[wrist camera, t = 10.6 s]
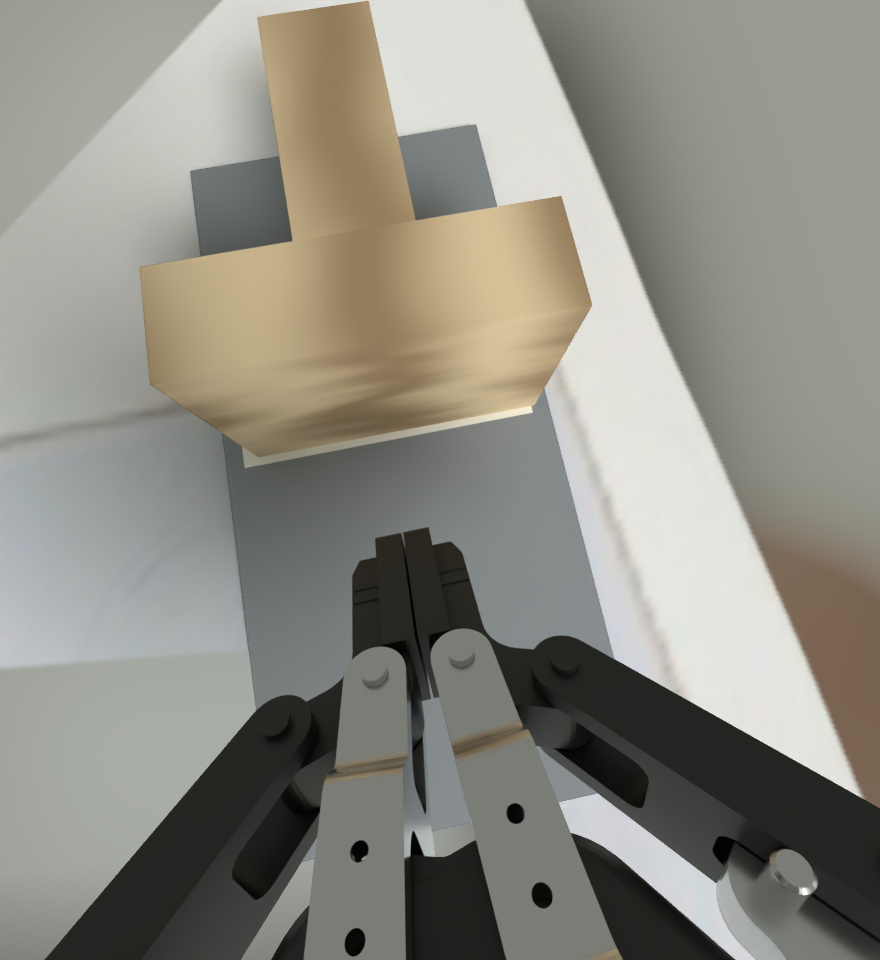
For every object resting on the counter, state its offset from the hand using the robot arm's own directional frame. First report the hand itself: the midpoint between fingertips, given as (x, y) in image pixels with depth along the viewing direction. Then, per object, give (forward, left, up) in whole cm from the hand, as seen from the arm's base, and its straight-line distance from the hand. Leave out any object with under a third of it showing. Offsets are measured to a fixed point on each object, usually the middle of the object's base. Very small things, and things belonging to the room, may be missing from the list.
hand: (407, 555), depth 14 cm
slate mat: (0, +5, -7) cm, 9 cm away
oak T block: (0, +11, -6) cm, 13 cm away
